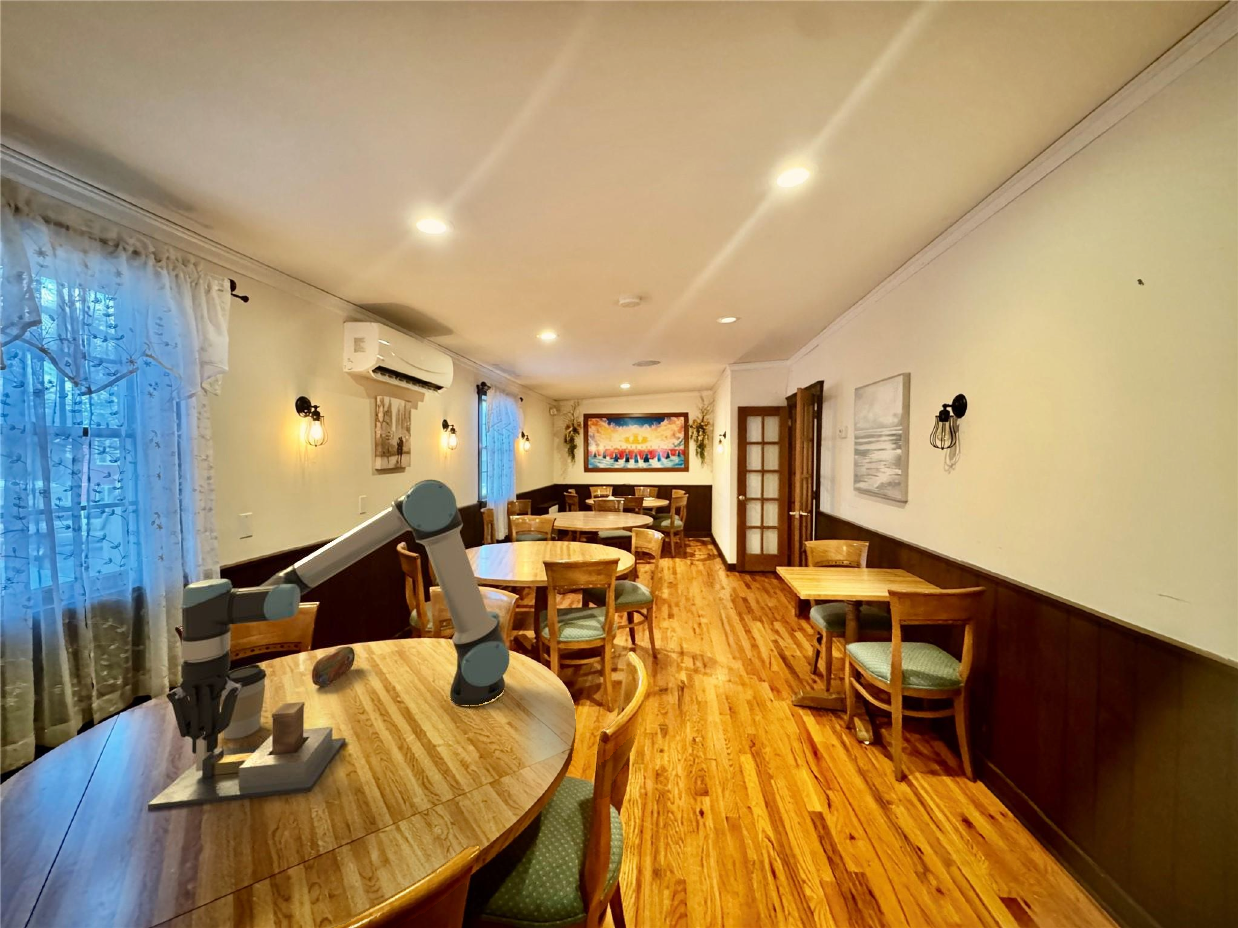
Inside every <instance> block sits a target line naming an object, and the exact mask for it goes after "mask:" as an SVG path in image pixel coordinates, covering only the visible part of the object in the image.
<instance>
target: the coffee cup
mask: <svg viewBox="0 0 1238 928" xmlns="http://www.w3.org/2000/svg"><path fill="white" fill-rule="evenodd" d="M229 675H230V677H231V681H232V682H234V683H236V684H239V683H243V684H244V686H243V688H242V689H241V691H240V692H239V693H238V697H237V700H236V704H235V707H234V711H233V714H232V718H231V721H230V725H229V727H227V728H226V729H225V730H224V731H223V732H222V733H223V738H224V739H227V740H236V739H241V738H243V737H244V738H245V737H247V736H249V735H251V734H253V733H255V732H256V731H258V730H259V729H260V728H261V721H262V719H261V718H262V711H263V707H264V699H265V690H266V684H265V681H266V677H267V673H266V670H265V669H264V668H261V666H260V665H259V664H257V663H252V664H250V665H248V666H247V665H246V666H241V667H237V668H235V669H233V670H230V671H229ZM225 692H226V688H225V689H224V691H223V692H222V698H221V699H220V709H221V708H222V705H223V701H224V698H225V696H226V695H225Z"/></svg>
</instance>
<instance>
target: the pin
mask: <svg viewBox="0 0 1238 928" xmlns="http://www.w3.org/2000/svg"><path fill="white" fill-rule="evenodd" d="M224 749H225V748H216V749H215V750H214V751H213V752H212V753H210V754H209V755H208V756H207V757H206V758H205V759H204V760H202V778H205V777H212V776H213V775H217V774H227V773H237V772H239V767H240V766H241V765H242V764H243V763H244V762H245V761H246V760H247V759H248V758H249V757H250V756H251V755H252V754H253V753H246V754H236V755H225V756H224Z"/></svg>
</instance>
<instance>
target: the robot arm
mask: <svg viewBox="0 0 1238 928" xmlns="http://www.w3.org/2000/svg"><path fill="white" fill-rule="evenodd" d="M463 525H464V523H463V520H462V517H461V514H460V512H459V508H458V505H457V499H456V497H455V494H454V492H453V491H452V489H451V488H449V486H448V485H446V484H445V483H444V482H441V481H439V480H437V479H424V480H421V481H419V482H416V483H415V484H414V485H412V486H411V487H410V488H409V489H408V490H407V491H406V492H405V493H404V494H403V495H401V496H399V497H398V498H396V499H395V500H392V502H391V504H390V506H389V508H387V509H385V510H383V511H382V512H380V513H378V514H376V515H375V516H373V517H372V518H369V519H368V520H367V521H365V522H363V523H361V524H359V525H358V526H356V527H355V528H353V529H351V530H349V531H348V532H346V533H344V534H342V535H340V536H339V537H338V538H336V539H334V540H333V541H331V542H330V543H327V544H326V545H324V546H323V547H321V548H319V549H318V550H317V549H316V551H313V552H312V553H310V554H309V555H307V556H305V557H304V558H302V559H301V560H299V561H297V562H295V563H294V564H292V565H290V566H289V567H287V568H286V569H283V570H280V571H279V572H276V573H275V574H273V575H272V576H271V577H270V579H267V581H265V582H264V583H262V584H260V585H259V586H252V587H251V586H250V587H243V588H242V587H240V588H239V587H236V588H233V585H232V581H231V580H230V579H227V578H214V579H213V578H212V579H205V580H200V581H196V582H192V583H191V584H188V585H186V587H184V589H183V591H182V592H183V593H182V603H181V606H180V610H181V633H182V634H181V646H180V647H181V649H180V651H181V653H180V658H181V659H182V661H181V663H180V664H181V665H180V667H181V668H180V678H181V679H182V681H181V682H180V685H179V686H178V687H176V688H174V689H173V690H171V691H169V692H168V693H167V694H166V699H167V700H168V701H169V702H170V704H171V705H172V709H173V713H174V716H175V720H176V724H177V727H178V728H177V729H178V731H179V736H180V737H181V738H186V737H188V738H190V739H191V740H192V741H191V743H192V744H191V746H192V747H191V749H192V750H191V752H192V754H194V755H195V757H196V758H195V763H196V772H197V771H202V760H204V759H205V758H206V757H207V756H208V755H209V754H210V753H212V752H213V751H214V750H215V749H218V746H219V735H221V734H222V733H224V732H223V731H224V730H225V729H226V728H227V727H229V725H230V721H231V718H232V714H233V711H234V707H235V704H236V700H237V697H238V693H239V692H240V691H241V689H242V688H243V686H244V684H243V683H239V684H236V683H234V682H232V681H231V677H230V675H229V672H230V671H229V670H230V667H231V652H230V649H231V630H232V629H231V627H232V626H233V625H239V624H242V625H243V624H250V623H262V622H277V621H280V620H285V619H291V618H293V617H295V616H296V614H297V613H298V610H299V608H300V603H301V596H302V595H304V594H306V593H307V592H309V591H310V590H312V589H313V588H315V587H317V586H318V585H320V584H321V583H323V582H325V581H326V580H328V579H329V578H331V577H333V576H334V575H336V574H337V573H338V574H339V572H342V571H343V570H345V569H346V568H348V567H349V566H351V565H353V564H354V563H356V562H357V561H359V560H361V559H362V558H364V557H365V556H367V555H369V554H370V553H372V552H373V551H375V550H377V549H379V548H380V547H382V546H383V545H385V544H387V543H388V542H390V541H392V540H393V539H395V538H397V537H398V536H400V535H402V534H403V533H405V532H407V531H412V533H413V536H414V539H415V542H416V543H419V544H422V545H423V546H424V547H425V550H426V553H427V555H428V559H429V561H430V563H431V564H430V565H431V566H432V569H433V572H434V575H435V577H436V580H437V583H438V586H439V588H440V592H441V595H442V597H443V600H444V603H445V605H446V607H447V610H448V613H449V616H450V619H451V621H452V624H453V626H454V627H453V628H454V630H455V632H454V635H453V636H452V638H451V640H452V643H453V647H454V648H455V651H456V654H457V656H456V657H457V658H456V663H457V664H456V671H455V675H454V678H453V681H452V683H451V687H450V690H449V693H450V695H449V696H450V697H449V699H450V698H451V699H450V701H451V702H452V701H453V702H454V703H455V704H454V703H453V702H452V703H453V704H454V705H456V704H458V705H469V706H470V705H479V704H483V703H485V702H489V701H491V700H492V699H495V698H496V697H497V696H499V695H500V694H501V693H502V692H503V690H504V688H505V689H506V682H505V678H504V675H505V674H506V672H507V671H508V668H509V665H510V651H509V649H508V647H507V645H506V643H505V640H504V637H503V635H502V632H501V628H500V623H501V620H500V614H499V613H498V612H496V611H487V607H486V603H485V602H484V599H483V597H482V596H483V595H482V593H481V590H480V587H479V584H478V581H477V579H476V576H475V573H474V570H473V568H472V564H471V562H470V559H469V555H468V553H467V550H466V547H465V544H464V542H463V539H462V537H461V536H462V535H461V533H460V531H461V530H462V527H463ZM225 688H226V692H225V695H226V696H225V698H224V701H223V705H222V708H220V699H221V698H222V692H223V691H224V689H225ZM458 705H457V706H458Z"/></svg>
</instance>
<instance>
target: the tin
mask: <svg viewBox="0 0 1238 928" xmlns="http://www.w3.org/2000/svg"><path fill="white" fill-rule="evenodd" d="M355 656H356V655H355V650H354V649H353V647H351V646H340V647H337V648H336V649H333V650H332V651H330V652H329V653H327V654H325V655H324V656H322V657H320V658H319V659H318V660H317V661H316V662H315V663H314V665H313V668H312V671H311V680H312V684H313V685H315V686H316V687H328V685H329V686H330V685H332V684H333V683H335V682H336V681H338V680H340V677H341V676H342V677H344V676H345V675H347V674H348V673H349V672H350V671H351V670H352V667H353V665H354V663H355ZM348 671H349V672H348ZM347 672H348V673H347ZM346 673H347V674H346ZM343 675H344V676H343ZM342 677H341V678H342ZM337 679H338V680H337ZM334 681H335V682H334Z"/></svg>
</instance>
